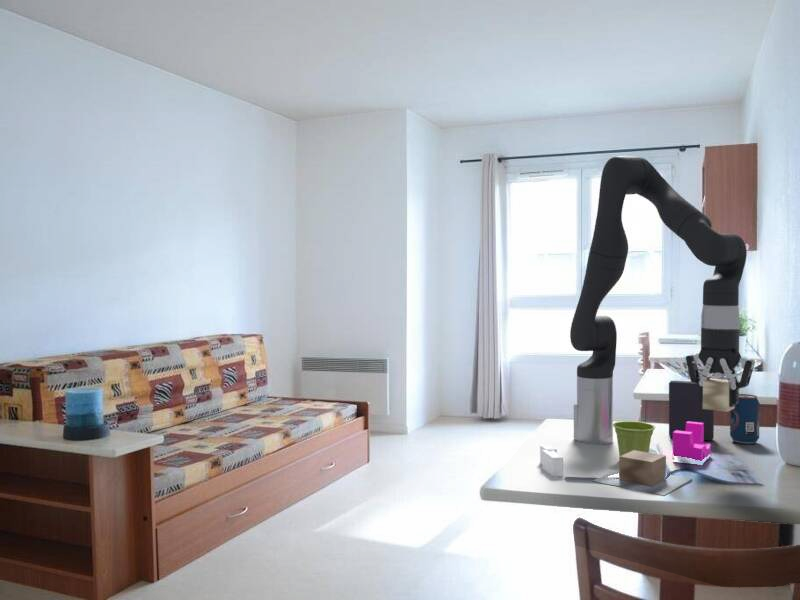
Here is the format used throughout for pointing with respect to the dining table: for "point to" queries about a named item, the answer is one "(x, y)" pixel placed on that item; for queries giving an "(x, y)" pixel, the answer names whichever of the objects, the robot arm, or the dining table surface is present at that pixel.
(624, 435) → the plant pot
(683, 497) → the dining table surface
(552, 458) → the napkin holder
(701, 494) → the dining table surface
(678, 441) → the toy block
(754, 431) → the soda can
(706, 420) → the dark grey box
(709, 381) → the maple brick
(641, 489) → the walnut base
